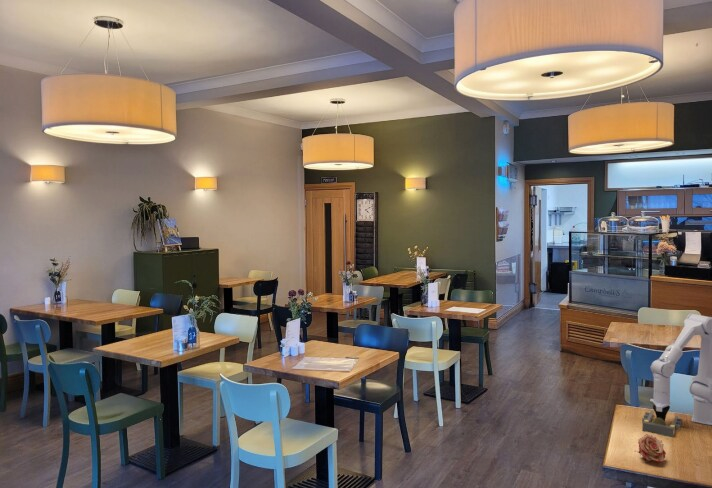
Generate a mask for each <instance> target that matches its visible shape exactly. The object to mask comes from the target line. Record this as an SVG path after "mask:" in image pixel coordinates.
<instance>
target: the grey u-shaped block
mask: <svg viewBox="0 0 712 488" xmlns="http://www.w3.org/2000/svg"><path fill="white" fill-rule="evenodd" d="M654 413H655V411H654V410H650V412H649V411H648V412H647V411H645V414H644V415H643V417H641V419H642V420H641V423H642V428H641V429H642V432H646V433H650V434H651V433H652V434H657V435H661V436H666V437H671V438H674V435H675V430H677V431H680V430H681V427H682V424H683V419H682V418H681V417H679V415H675V416H674V419H673V421H672V424H670V425H667V424H666V425H662V424H657V423H652V421H653V419H654V418H653V417H654Z"/></svg>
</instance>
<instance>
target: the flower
mask: <svg viewBox="0 0 712 488" xmlns="http://www.w3.org/2000/svg"><path fill="white" fill-rule="evenodd" d="M637 443H638V451H637V450H634V452H637V453H639V454H640V456H642V457H643V459H644V460H645V463H647V462H648V461H650V462H652V461H656V462H657V463H658V464H660V463H661V462H664V459H666V454H667V452H666V451H665V449H664V443H663V441H662V440H660V439H658V438H657V437H656V436H653V435H652V434H651V435H649V434H648V433H645V434H644V435H642V436H641V437H640V438H639V439H638V442H637Z"/></svg>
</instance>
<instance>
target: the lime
mask: <svg viewBox="0 0 712 488" xmlns="http://www.w3.org/2000/svg"><path fill="white" fill-rule="evenodd" d="M651 422H652V423H657V424H662V425H667V423H666V420H665V421H664V420H663V419H662V418H659V417H655V418H652V420H651Z"/></svg>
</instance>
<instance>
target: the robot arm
mask: <svg viewBox="0 0 712 488" xmlns="http://www.w3.org/2000/svg"><path fill="white" fill-rule="evenodd" d="M683 326H684V327H683V328H682V329H681V331H680V333H679V335H678V336H677V338H676V340H675V341H674V343H673V344H670V345H668V346H666V348H665V350H664V351H663V353H662V354H661V355H660V357H659V358H657V359H656V360H654V361H652V363H651V365H650V366H649V368H650V371H651V373H652V377H653V396H652V397H653V398H650V400H649V401H650V403H652V404H653V405H652V410H653V411H654V413H655V418H657V417H659V418H662V419H663V420H664V421H665V422H666V419H667V414H668V412H669V411H670V409H671V407H670V405H671V377H672V376H673V375H674V373H675V368H676V364H677V363H678V361H679V360H680V359H681V357H682V356H683V349H684V348H685V346H686V345H688V344H689V342H690V341H691V340H692V339H693V338H694V336H700V339H701V340H700V350H699V358H698V368H697V374H696V375H695V376H693V377H692V378H691V383H690V384H689V386H688V387H689V388H688V389H689V393H690V394H691V397H692V398H693V411H692V412H693V415H692V416H691V422H693V423H698V424H703V425H708V426H712V316H705V315H702V314H701V315H700V314H696V313H693V312H692V313H689V314H688V315H687V316H686V318H685V319H684V320H683Z"/></svg>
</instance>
